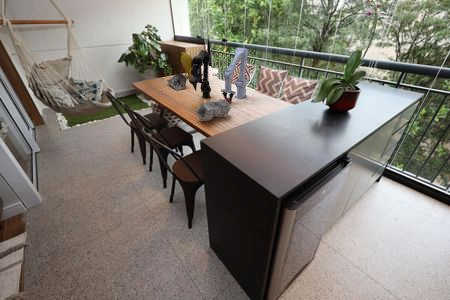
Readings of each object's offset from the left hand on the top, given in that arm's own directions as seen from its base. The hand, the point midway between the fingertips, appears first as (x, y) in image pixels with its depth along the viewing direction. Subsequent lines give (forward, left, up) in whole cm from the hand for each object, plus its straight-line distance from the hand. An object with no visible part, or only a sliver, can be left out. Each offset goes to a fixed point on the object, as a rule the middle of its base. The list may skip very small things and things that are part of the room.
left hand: (199, 91), depth 177 cm
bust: (+9, +31, -12) cm, 34 cm away
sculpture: (-43, -88, -12) cm, 99 cm away
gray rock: (-11, -64, -12) cm, 66 cm away
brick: (-22, +13, -12) cm, 28 cm away
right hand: (-22, +13, -10) cm, 27 cm away
